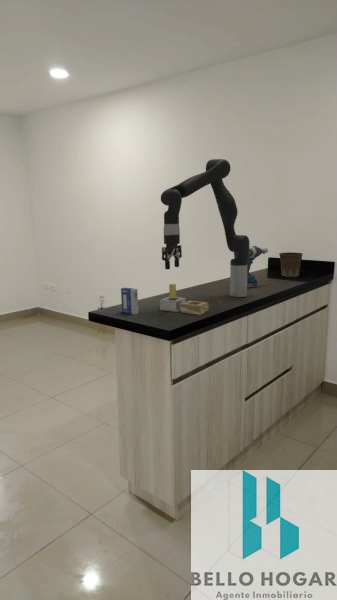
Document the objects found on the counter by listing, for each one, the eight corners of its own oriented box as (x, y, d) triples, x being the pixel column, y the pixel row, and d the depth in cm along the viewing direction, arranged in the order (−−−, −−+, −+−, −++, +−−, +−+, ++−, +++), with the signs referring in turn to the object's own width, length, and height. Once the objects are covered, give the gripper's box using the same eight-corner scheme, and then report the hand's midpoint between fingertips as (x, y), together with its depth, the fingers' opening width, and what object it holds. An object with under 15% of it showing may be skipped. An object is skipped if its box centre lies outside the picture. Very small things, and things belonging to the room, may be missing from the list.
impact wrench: (269, 286, 255) (270, 245, 250) (237, 289, 247) (238, 247, 242) (262, 284, 262) (263, 244, 257) (231, 287, 254) (231, 246, 249)
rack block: (190, 308, 201) (190, 300, 200) (208, 310, 195) (208, 302, 195) (180, 312, 193) (180, 304, 192) (199, 314, 188) (199, 306, 187)
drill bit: (171, 307, 203) (171, 283, 200) (177, 308, 201) (177, 284, 198) (168, 309, 200) (167, 284, 197) (174, 309, 198) (173, 285, 196)
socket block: (169, 306, 207) (169, 296, 205) (185, 307, 202) (185, 298, 201) (160, 309, 199) (160, 299, 198) (176, 311, 194) (176, 301, 193)
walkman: (121, 312, 195) (120, 287, 193) (125, 311, 198) (124, 286, 195) (134, 314, 191) (133, 289, 189) (138, 313, 193) (137, 288, 191)
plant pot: (293, 278, 282) (294, 255, 278) (273, 276, 294) (274, 253, 290) (306, 276, 292) (307, 253, 289) (286, 273, 304) (287, 252, 301)
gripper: (172, 233, 201) (173, 266, 204) (156, 234, 189) (157, 269, 192) (186, 233, 197) (186, 266, 200) (170, 234, 185) (171, 270, 188)
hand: (172, 268), depth 196 cm, fingers open, 8 cm apart
